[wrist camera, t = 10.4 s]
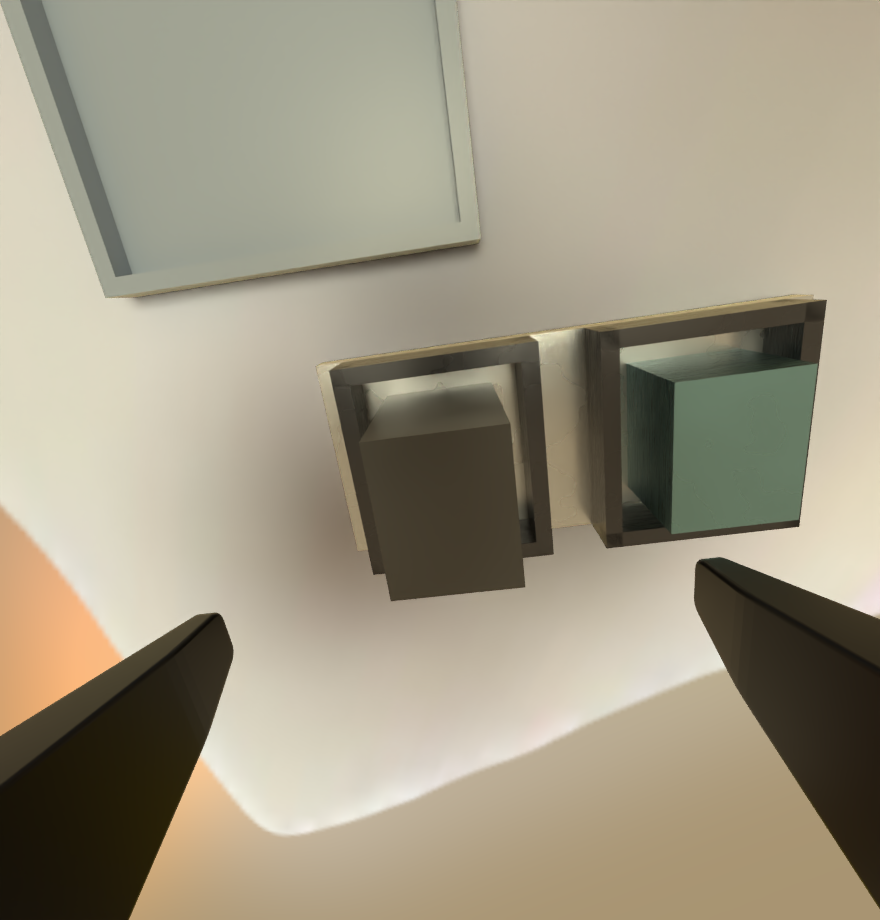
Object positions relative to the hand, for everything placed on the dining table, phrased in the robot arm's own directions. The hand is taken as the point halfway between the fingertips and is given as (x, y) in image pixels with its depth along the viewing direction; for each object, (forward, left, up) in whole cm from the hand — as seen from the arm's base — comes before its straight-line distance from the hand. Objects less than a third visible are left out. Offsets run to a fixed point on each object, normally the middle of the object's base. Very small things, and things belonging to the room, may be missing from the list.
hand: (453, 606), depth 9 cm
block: (0, 0, -10) cm, 10 cm away
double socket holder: (-4, 0, -11) cm, 12 cm away
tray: (+5, -14, -11) cm, 18 cm away
